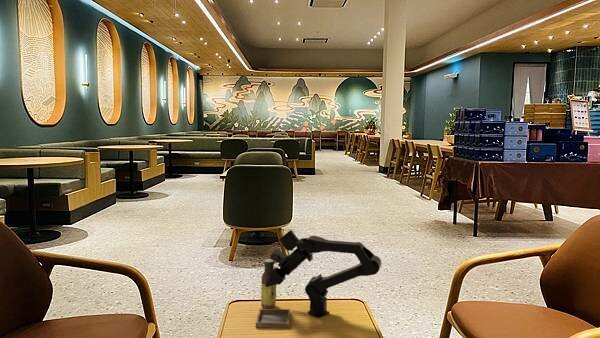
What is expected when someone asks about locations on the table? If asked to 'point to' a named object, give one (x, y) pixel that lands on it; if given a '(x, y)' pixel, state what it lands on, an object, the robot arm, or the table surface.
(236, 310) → the table surface
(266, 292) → the sauce bottle
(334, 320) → the table surface
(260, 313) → the walnut frame
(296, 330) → the table surface
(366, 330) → the table surface
